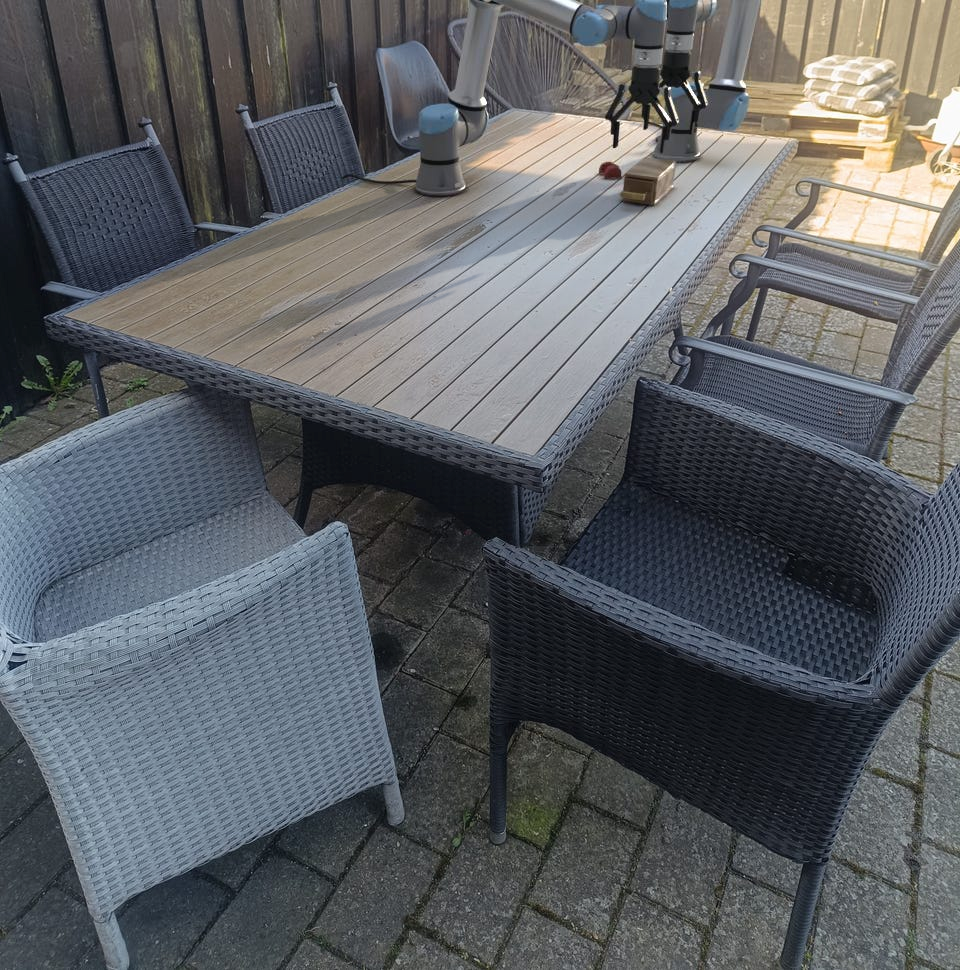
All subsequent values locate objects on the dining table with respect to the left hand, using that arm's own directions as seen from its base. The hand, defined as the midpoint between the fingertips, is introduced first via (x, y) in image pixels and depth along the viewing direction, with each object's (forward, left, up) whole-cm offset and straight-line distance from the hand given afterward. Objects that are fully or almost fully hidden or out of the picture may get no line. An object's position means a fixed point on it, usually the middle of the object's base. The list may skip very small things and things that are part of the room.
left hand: (638, 149), depth 235 cm
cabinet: (-3, +14, -16) cm, 22 cm away
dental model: (-22, +23, -16) cm, 36 cm away
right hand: (-1, +19, +1) cm, 19 cm away
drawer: (-2, +9, -15) cm, 18 cm away
